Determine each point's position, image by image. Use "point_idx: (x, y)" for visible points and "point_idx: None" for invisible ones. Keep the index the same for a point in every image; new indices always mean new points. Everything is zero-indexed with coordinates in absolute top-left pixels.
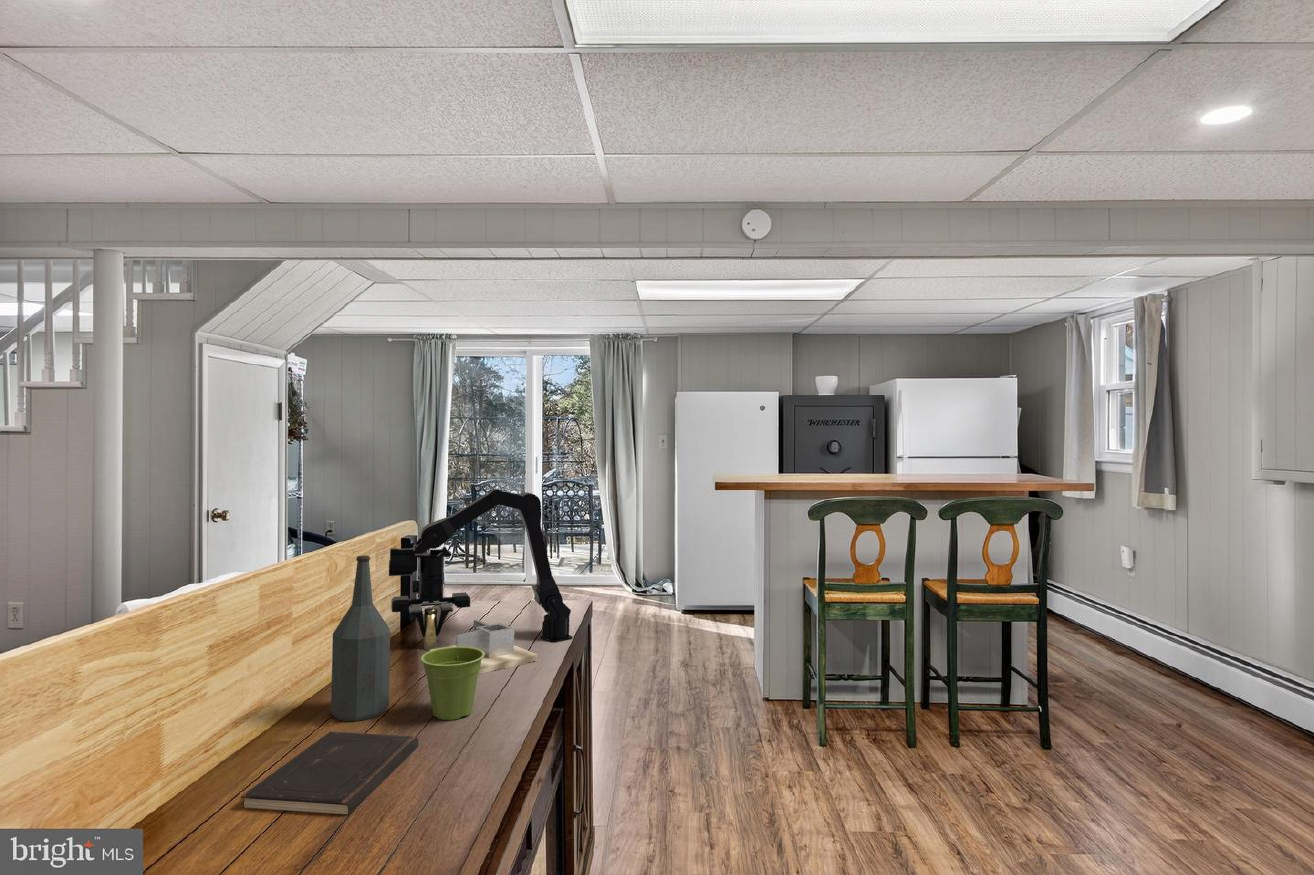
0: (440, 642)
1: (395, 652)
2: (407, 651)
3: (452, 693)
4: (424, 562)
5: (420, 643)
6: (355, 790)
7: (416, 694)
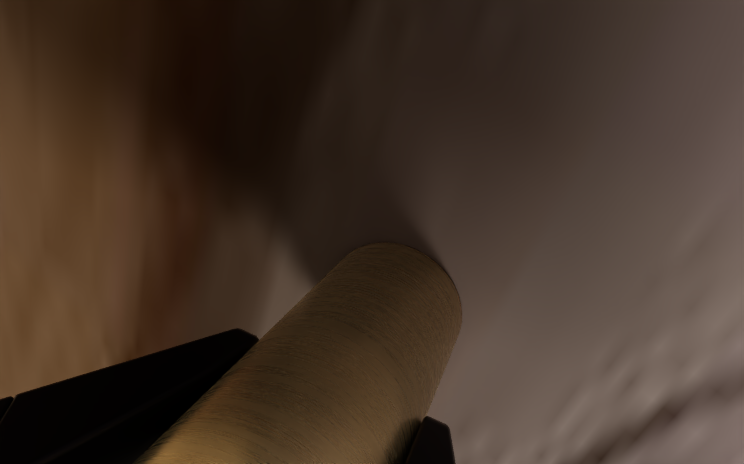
0: (635, 140)
1: (96, 209)
2: (184, 250)
3: None
4: None
5: (372, 18)
6: None
7: None
